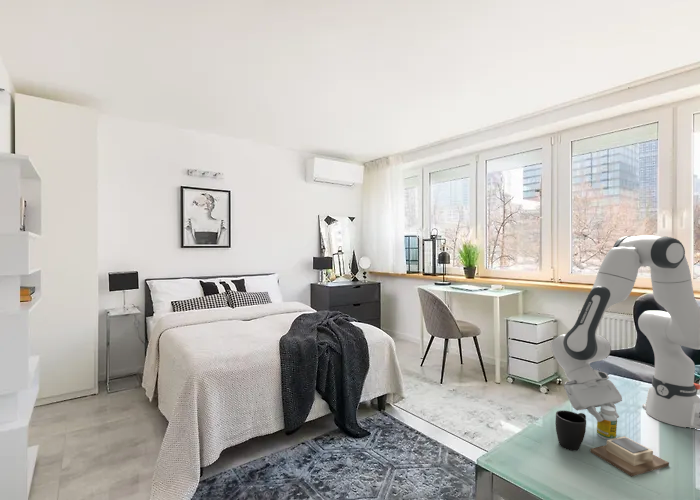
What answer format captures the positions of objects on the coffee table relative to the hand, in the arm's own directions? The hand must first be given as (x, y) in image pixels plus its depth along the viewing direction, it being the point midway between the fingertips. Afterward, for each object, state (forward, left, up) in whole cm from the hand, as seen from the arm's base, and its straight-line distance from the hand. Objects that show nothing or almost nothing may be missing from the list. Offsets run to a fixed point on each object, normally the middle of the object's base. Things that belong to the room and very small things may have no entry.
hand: (609, 419), depth 122 cm
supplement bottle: (0, -1, -6) cm, 6 cm away
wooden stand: (+6, +10, -6) cm, 13 cm away
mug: (+16, 0, -6) cm, 17 cm away
